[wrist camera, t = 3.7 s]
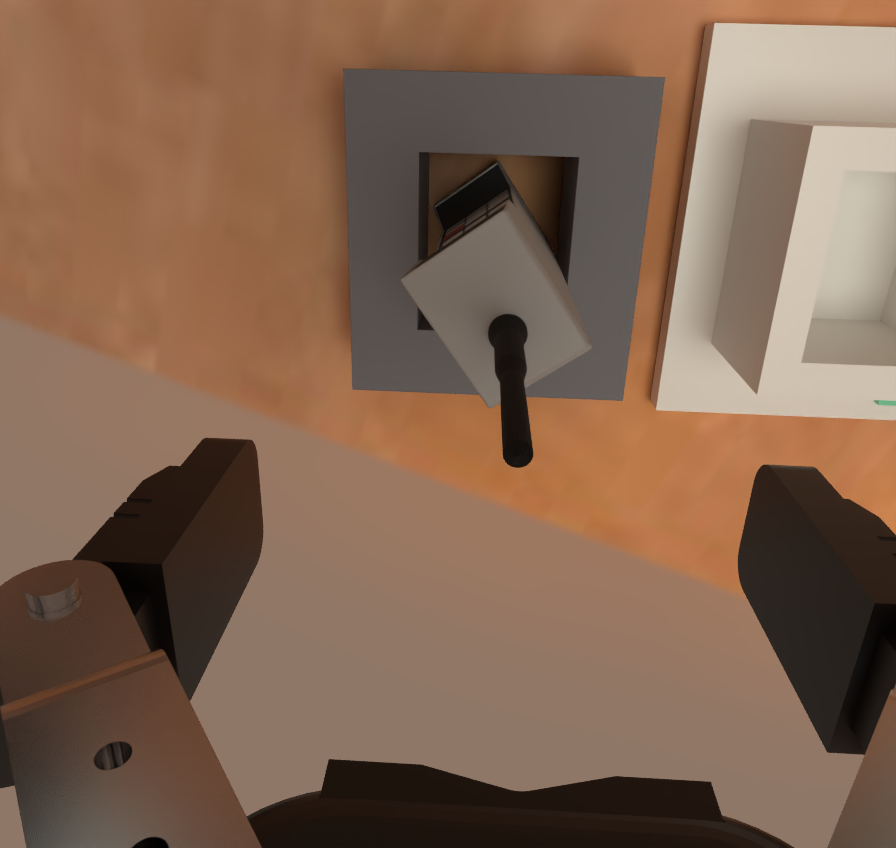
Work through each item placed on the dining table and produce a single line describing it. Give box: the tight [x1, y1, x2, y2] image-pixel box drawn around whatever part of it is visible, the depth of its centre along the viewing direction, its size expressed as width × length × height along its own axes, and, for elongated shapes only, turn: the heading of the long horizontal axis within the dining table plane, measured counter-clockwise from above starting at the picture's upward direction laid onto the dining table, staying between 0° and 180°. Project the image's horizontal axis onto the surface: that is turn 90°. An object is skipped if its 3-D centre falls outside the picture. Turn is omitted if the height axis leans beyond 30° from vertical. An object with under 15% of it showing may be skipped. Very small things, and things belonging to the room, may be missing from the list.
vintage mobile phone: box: [400, 161, 592, 468], centre depth 26 cm, size 4×5×25 cm
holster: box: [343, 69, 665, 401], centre depth 35 cm, size 14×12×6 cm
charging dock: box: [650, 23, 896, 420], centre depth 33 cm, size 18×14×8 cm
